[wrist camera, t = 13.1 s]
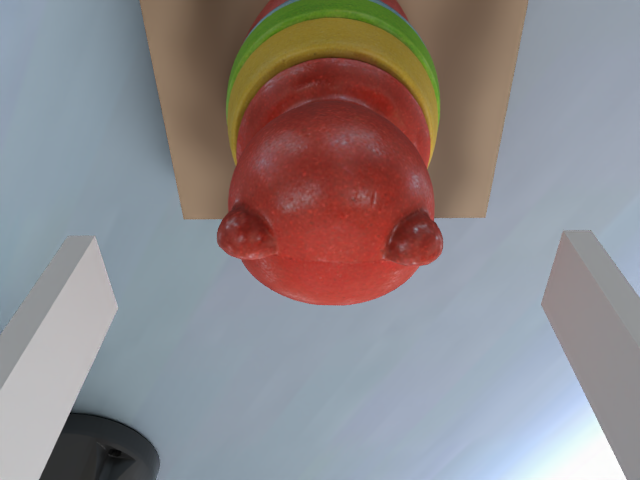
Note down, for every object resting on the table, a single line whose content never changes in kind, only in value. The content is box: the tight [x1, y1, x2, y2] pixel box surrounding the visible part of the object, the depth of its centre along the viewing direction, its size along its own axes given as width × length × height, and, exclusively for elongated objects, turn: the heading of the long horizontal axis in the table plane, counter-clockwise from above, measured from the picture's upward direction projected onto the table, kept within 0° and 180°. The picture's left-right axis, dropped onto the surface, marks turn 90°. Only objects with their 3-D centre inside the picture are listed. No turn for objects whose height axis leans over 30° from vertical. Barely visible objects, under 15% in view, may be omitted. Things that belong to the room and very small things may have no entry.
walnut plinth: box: [139, 0, 528, 219], centre depth 31 cm, size 20×20×4 cm
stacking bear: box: [217, 0, 443, 305], centre depth 22 cm, size 11×10×18 cm
